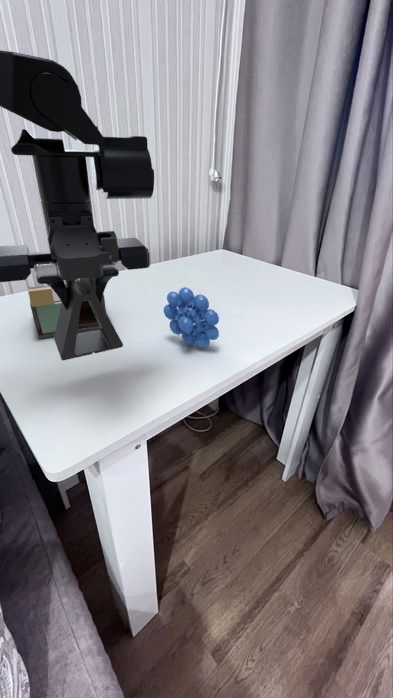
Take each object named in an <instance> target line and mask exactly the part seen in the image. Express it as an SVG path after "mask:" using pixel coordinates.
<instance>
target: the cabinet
mask: <svg viewBox="0 0 393 698" xmlns="http://www.w3.org/2000/svg"><path fill="white" fill-rule="evenodd" d="M46 287H50V286H49V285H47V284H46V285H39V286H30V287H28V289H37V288H46ZM51 289H52V288H51ZM52 294H53V298H54V303H55V302H62V301H61V300H60V298H59V297H58V295H57V294H56V293H55V292H54V290H53V289H52ZM101 305H102V307H103V308H104V310H105V312H106V313H107V309H106V308H107V307H106V299H105V294H104V293H103V297H102V301H101ZM29 306H30V309H31V314H32V317H33V321H34V325H35V326H34V327H35V330H36V334H37V339H38V340H44V339H50V338H54V336H55V332H52V333H46V334H43V332H42V328H41V324H40V320H39V316H38V312H37V308H36V307H32V305H31V301H30V300H29ZM96 330H100V326H99V324H98V322H97V320H96V317H95V315H94V313H93V311H92V308H91V306H90V304H89V302H88V300H84V301H83V302H82V303H81V308H80V316H79V323H78V331H77V334H81V333H86V332H91V331H96Z"/></svg>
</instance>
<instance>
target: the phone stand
mask: <svg viewBox="0 0 393 698" xmlns="http://www.w3.org/2000/svg"><path fill="white" fill-rule="evenodd" d="M64 283H65V286H66V289H67V292H68V296H69V299H70V301H69V305H68V308H67V310H66V308H65V307H64V305H63V303H61V308H60V313H59V317H58V322H57V327H56V331H55V336H54V337H53V340H54V343H55V345H56V348H57V351H58V354H59V357H60V360H61V361H68V360H73V359H77V358H81V357H86V356H91V355H93V354H99V353H103V352H108V351H112V350H115V349H121V348H123V347H124V343H123V342H122V340H121V337H120V336H119V334H118V333H117V330H116V328H115V327H114V324H113V323H112V321H111V319H110V318H109V316H108V314H107V311H106V312H105V310H104V308H103V307H102V305H101V303H100V301H99V299H98V297H97V295H96V284H95V281H94V279H92V278H81V279H75V280H74V281H66V280H64ZM84 300H88V302H89V304H90V306H91V308H92V311H93V313H94V311H95V313H96V316H95V317H96V320H97V322H98V324H99V326H100V329H99V330H93V331H87V332H81V333H77V331H78V323H79V316H80V308H81V303H82V302H83V301H84ZM94 315H95V314H94Z"/></svg>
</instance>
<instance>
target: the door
mask: <svg viewBox="0 0 393 698" xmlns="http://www.w3.org/2000/svg"><path fill="white" fill-rule="evenodd" d="M27 292H28V296H29V297H28V298H29V302H30V301H31V305H32V307H36V308H37V312H38V316H39V320H40V324H41V328H42V332H43V334H46V333H52V332H55V331H56V327H57V322H58V317H59V313H60V308H61V303H62V302H55V303H54V298H53V294H52V289H51V287H46V288H37V289H29V288H28V289H27Z"/></svg>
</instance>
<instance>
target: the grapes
mask: <svg viewBox="0 0 393 698" xmlns="http://www.w3.org/2000/svg"><path fill="white" fill-rule="evenodd" d="M166 300H167V304H166V305H165V306H164V307H163V311H162V312H163V314H164V316H165V318H167V319H168V320H170V322H169V329H170V331H171V333H173V334H174V335H177V336H179V335H181V339H182V342H183V343H184V344H185V345H187V346H194V345H195V344H197V346H199V347H200V348H208V347H209V346H210V344H211V341H216V340H217V339H218V338H219V337H220V331H219V329H218V327H217V326H216V325H218V324H219V322H220V317H219V314H218V313H217V311H215V310H214V309H211V308H210V302H209V299H208V298H207V296H205V295H204V294H201V293H200V294H196V295H195V294H194V292H193V290H191V288H189V287H186V286H184V287H181V288H180V289H179V290H178V292H176V291H170V292H168V294H167V295H166Z"/></svg>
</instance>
